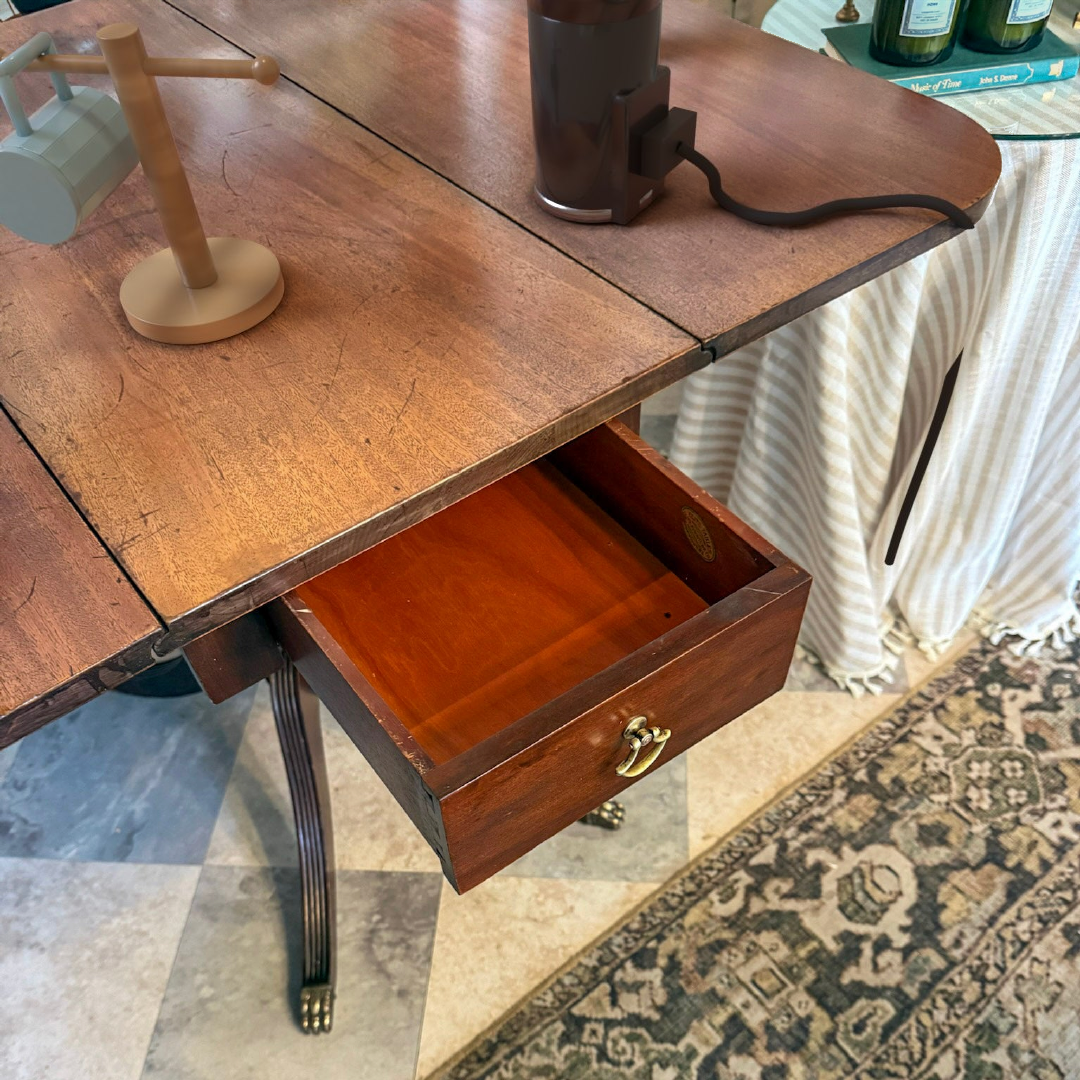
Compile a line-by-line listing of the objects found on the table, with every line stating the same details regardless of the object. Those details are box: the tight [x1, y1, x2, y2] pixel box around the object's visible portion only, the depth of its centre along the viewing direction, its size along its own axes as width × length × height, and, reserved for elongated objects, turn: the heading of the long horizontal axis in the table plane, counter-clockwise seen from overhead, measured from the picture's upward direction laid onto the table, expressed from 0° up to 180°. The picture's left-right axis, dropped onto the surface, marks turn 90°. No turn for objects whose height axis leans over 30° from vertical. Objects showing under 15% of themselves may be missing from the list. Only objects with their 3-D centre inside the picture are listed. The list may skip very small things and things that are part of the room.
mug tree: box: [0, 22, 285, 345], centre depth 64 cm, size 19×11×18 cm, turn 81°
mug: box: [0, 31, 141, 246], centre depth 61 cm, size 10×6×9 cm
